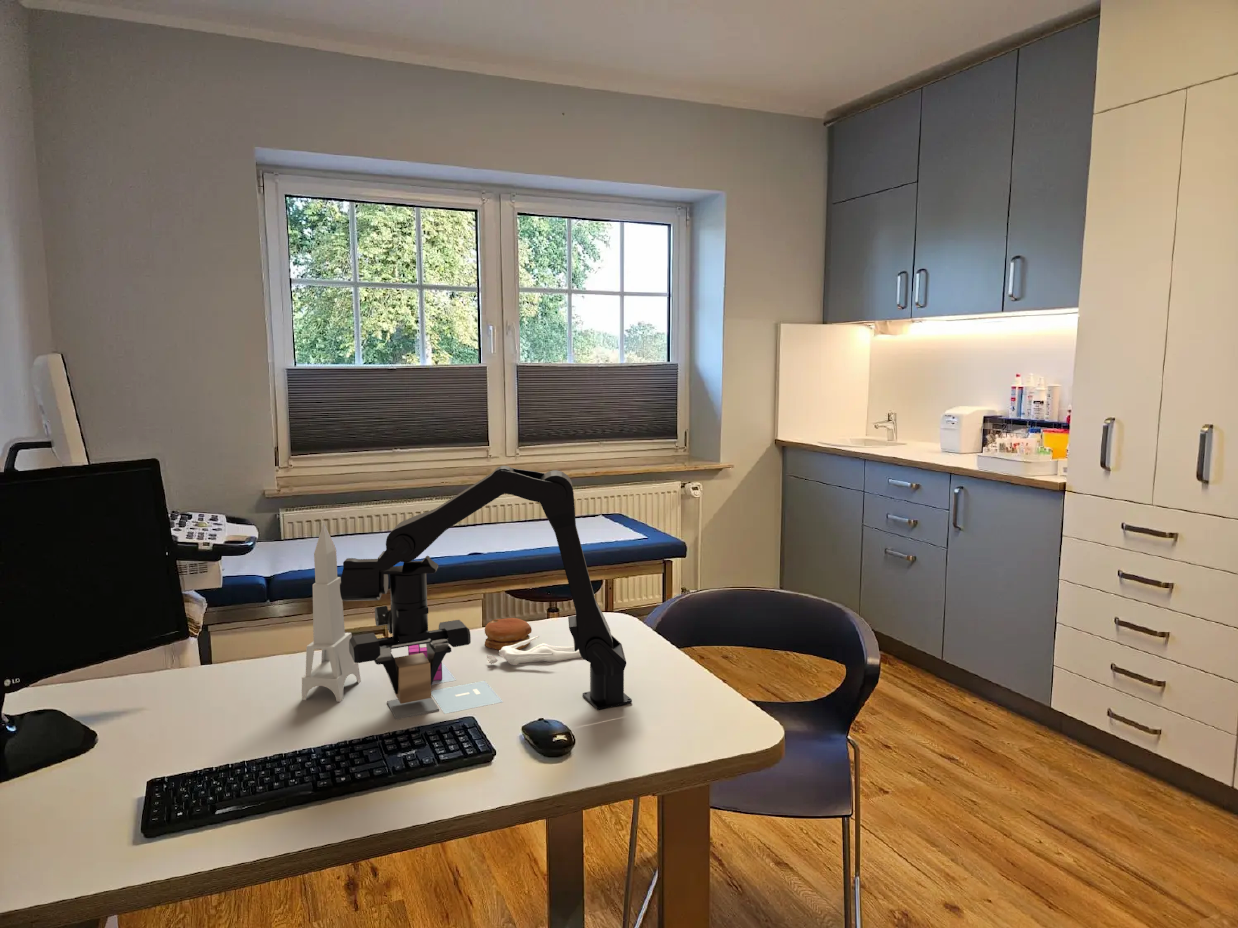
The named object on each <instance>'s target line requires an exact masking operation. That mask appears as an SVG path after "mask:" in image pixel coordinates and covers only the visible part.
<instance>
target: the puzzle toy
mask: <svg viewBox="0 0 1238 928" xmlns="http://www.w3.org/2000/svg"><path fill="white" fill-rule="evenodd" d="M419 653H423V654H424V655H425V657H426V658H427V647H426V643H425V644H419V645H413V646H407V655H413V654H419ZM442 663H443V661H442V662H441V664H440V666H439V668H438V670H437V672H436V675H435V677H434V680H433V681H435V680H442Z"/></svg>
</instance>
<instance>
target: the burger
mask: <svg viewBox="0 0 1238 928" xmlns="http://www.w3.org/2000/svg"><path fill="white" fill-rule="evenodd" d="M532 630H533V629H532V626H531V624H530V623H528V622H527V621H525V620H523V619H521V618H516V617H508V618H507V617H505V618H498V619H497V618H496V619H493V620H491V621H489V622H488V623H487V624H486V625H485V627H484V634H485V636H486V638H485V641H484V646H485V647H486V648H489V649H495V650H497V651H499V650H501V649H502V647H504V646H511V645H514V644H517V643H519V642H522V641H525V640H528V639H531V637H530V635H531V633H532ZM530 643H531V642H530ZM530 643H528V644H526V645H521V646H519V647H517V648H516V649H517V650H522V649H524V648H527V647H528V646H529V645H530Z"/></svg>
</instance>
